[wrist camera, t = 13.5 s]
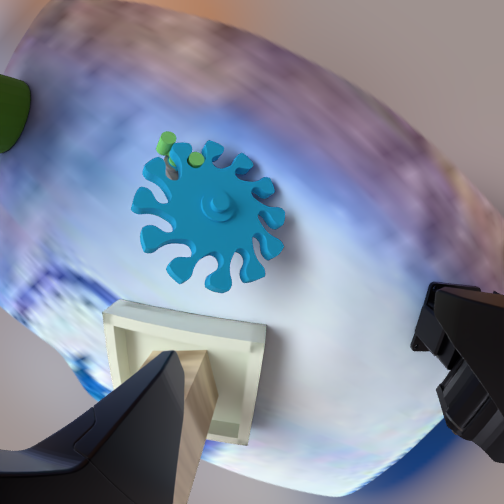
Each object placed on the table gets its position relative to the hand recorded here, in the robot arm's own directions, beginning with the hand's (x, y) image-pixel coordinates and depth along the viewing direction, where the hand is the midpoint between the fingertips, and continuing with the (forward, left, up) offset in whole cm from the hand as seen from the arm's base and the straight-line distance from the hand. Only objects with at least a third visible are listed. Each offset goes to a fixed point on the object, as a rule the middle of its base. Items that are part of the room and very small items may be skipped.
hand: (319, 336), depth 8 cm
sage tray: (+8, +12, -13) cm, 19 cm away
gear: (+6, -3, -13) cm, 15 cm away
